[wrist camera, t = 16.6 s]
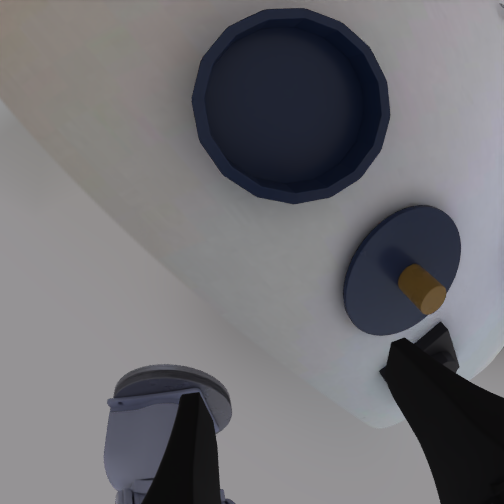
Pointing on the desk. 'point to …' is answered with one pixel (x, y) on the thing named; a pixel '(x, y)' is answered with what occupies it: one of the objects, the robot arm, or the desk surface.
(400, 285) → the tin lid
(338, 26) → the tin
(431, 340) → the control block
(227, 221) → the desk surface
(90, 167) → the desk surface
